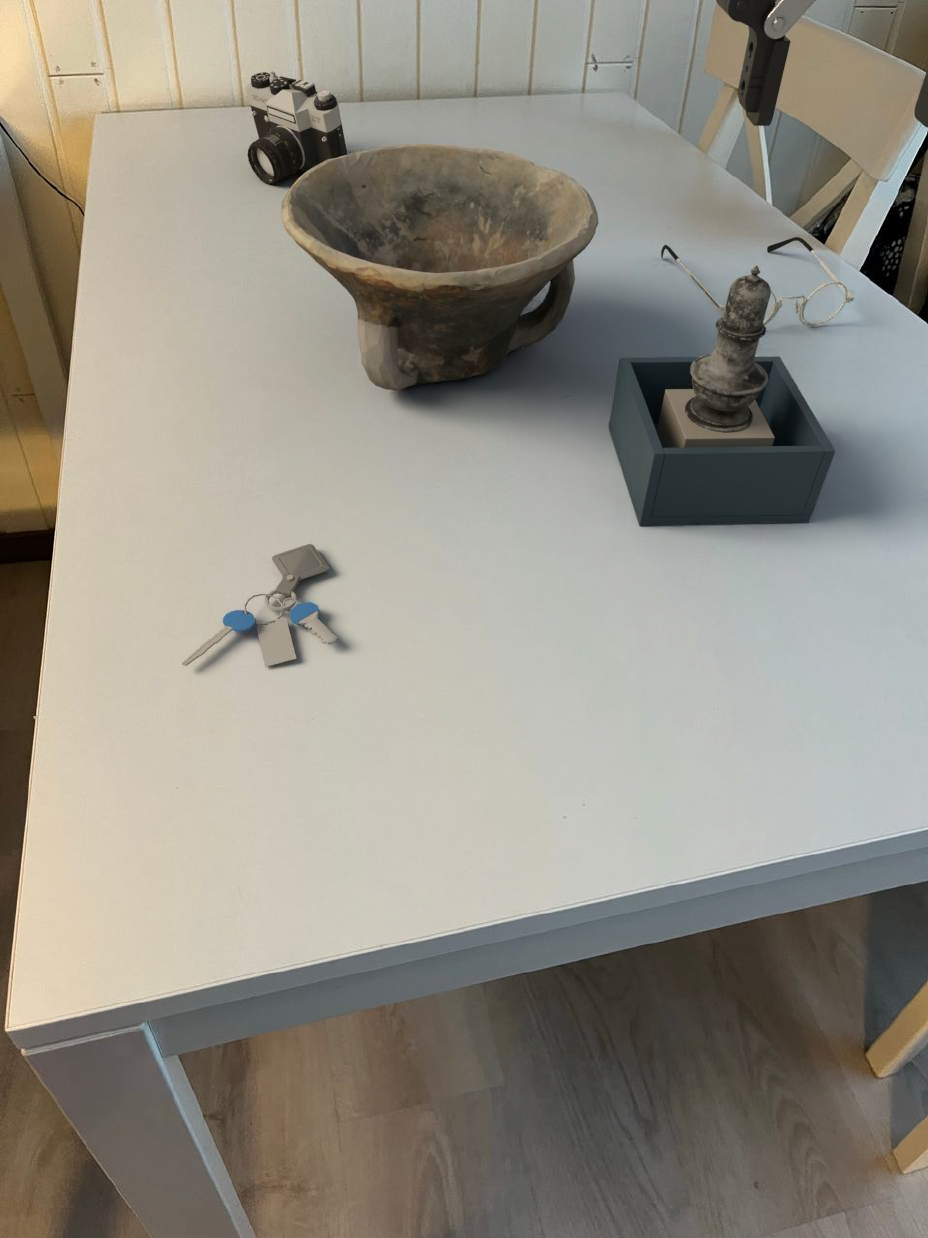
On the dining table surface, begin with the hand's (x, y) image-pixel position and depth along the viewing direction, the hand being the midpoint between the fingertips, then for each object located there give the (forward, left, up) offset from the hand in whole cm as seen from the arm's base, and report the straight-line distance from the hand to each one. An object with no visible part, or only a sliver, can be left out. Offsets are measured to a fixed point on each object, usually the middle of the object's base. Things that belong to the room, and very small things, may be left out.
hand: (843, 121), depth 47 cm
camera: (+35, -79, -32) cm, 92 cm away
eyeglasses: (-16, -46, -32) cm, 58 cm away
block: (-3, -14, -31) cm, 34 cm away
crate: (-3, -14, -32) cm, 35 cm away
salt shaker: (-3, -14, -26) cm, 30 cm away
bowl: (+18, -33, -32) cm, 49 cm away
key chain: (+30, +2, -32) cm, 43 cm away
